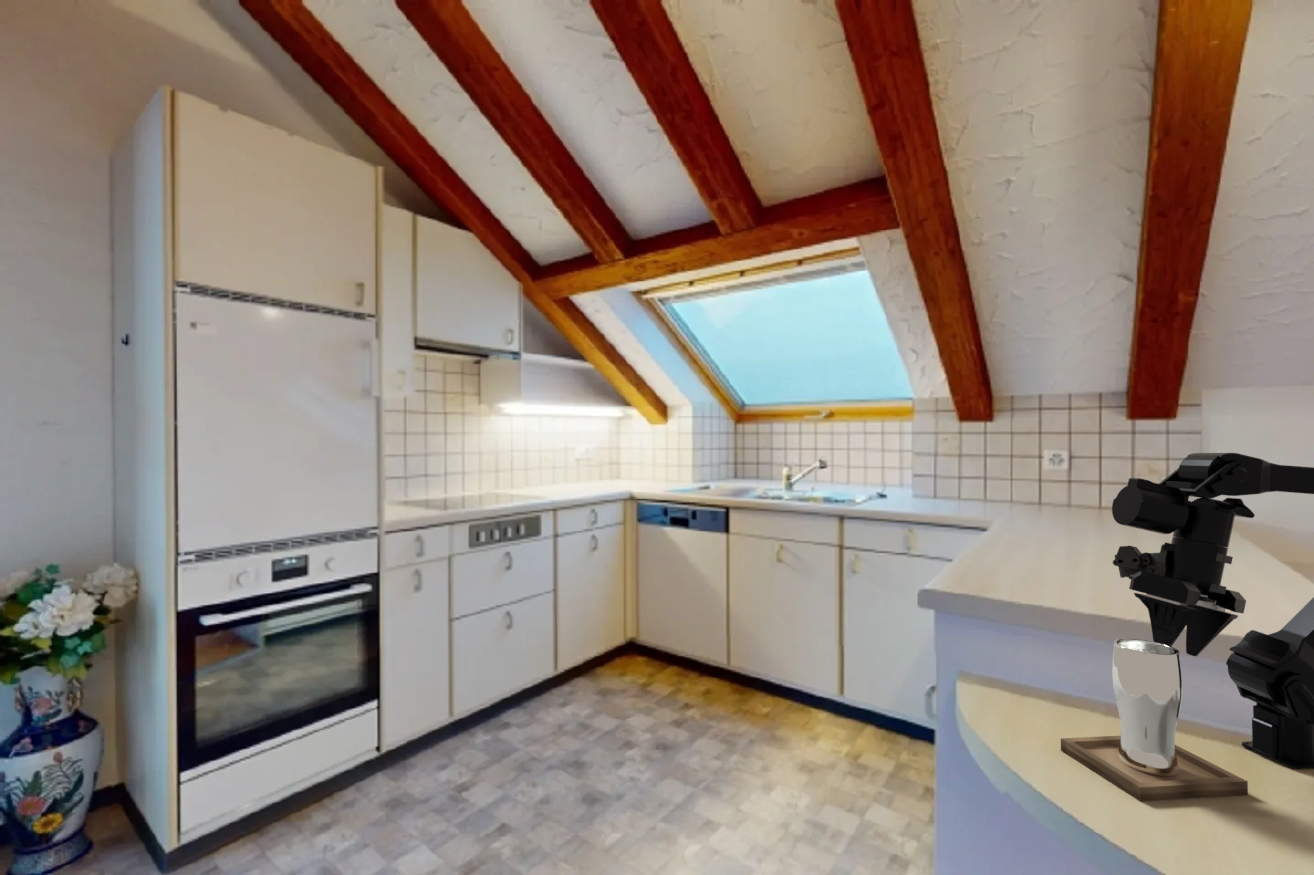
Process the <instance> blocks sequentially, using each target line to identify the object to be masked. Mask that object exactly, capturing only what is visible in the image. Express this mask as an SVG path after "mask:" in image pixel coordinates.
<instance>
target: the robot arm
mask: <svg viewBox="0 0 1314 875" xmlns="http://www.w3.org/2000/svg"><path fill="white" fill-rule="evenodd" d="M1272 492H1273V493H1274V492H1281V493H1282V492H1283V493H1293V494H1294V493H1295V494H1307V495H1314V466H1313V467H1312V466H1310V467H1309V466H1298V465H1296V466H1295V465H1287V464H1286V465H1285V464H1277V463H1273V462H1269V461H1267V460H1264V459H1262V458H1260V457H1259V458H1258V457H1254V456H1252V455H1251V456H1250V455H1246V454H1241V453H1237V452H1195V453H1190V454H1187V455H1186V457H1184V458H1183V459H1182V460H1181V462H1180V463H1179V467H1178V468H1177V469H1175V470H1174V471H1173V472H1171V474H1169V475H1168V476H1167V477H1165V478H1164V479H1163V480H1161V482H1159V483H1156V482H1153V481H1152V480H1149V479H1145V478H1139V477H1136V478H1135V477H1130V478H1129V479H1128V482H1127V485H1126V486H1125V487H1123V488H1122V489H1121V490H1120V491H1119V492H1118V493H1117V495H1116V497H1115V498H1113V501H1112V506H1111V513H1112V517H1113V519H1114V521H1115V522H1116V523H1117V524H1119V525H1121V526H1126V527H1130V528H1135V529H1138V530H1144V531H1148V532H1152V533H1157V534H1161V535H1170V534H1171V533H1173V534H1172V537H1171V542H1170V543H1169V542H1166V541H1165V542H1164V544H1161V545H1160V546H1161V547H1160V551H1159V552H1147V551H1146V552H1143V553H1142V551H1140V549H1138V547H1137V546H1134V545H1123V546H1122V545H1121V546H1119V547H1118V550H1117V553H1116V554H1114V560H1112V564H1113V566H1114V567H1115V566H1116V567H1118V572H1119V576H1120V578H1122V579H1124V578H1128V580H1130V584H1129V588H1128V589H1129V590H1132V591H1136V592H1133V594H1134V596H1135V597H1136V598H1138V600H1140V602H1141V603H1142V604H1143V605H1144V606H1145V608H1147V611H1148V617H1149V619H1150V620H1149V621H1150V625H1151V627H1150V628H1151V635H1152V641H1153V642H1158V643H1162V644H1165V645H1168V646H1171V647H1173V645H1174V643H1175V642H1176V641H1177V639H1178V638H1179V637H1180V635H1181V633H1183V631H1184V629H1185V628H1186V632H1185V633H1186V634H1185V653H1186V654H1187V655H1189V656H1192V657H1198V656H1199V655H1200V654H1201V653H1202V652H1203V651H1204V649H1206V648H1207V646H1208V645H1209V644H1210V643H1211V642H1213V640H1215V638H1216V637H1218V635H1219V634H1220V633H1221V632H1222V631H1223V630H1225V629H1226V627H1228V626H1229V625H1230V624H1231V623H1232V622H1233V621H1234V620H1236V619H1238V617H1239V615H1238V613H1239V614H1244V613H1245V609H1246V605H1247V604H1246V603H1247V600H1246V599H1245V598H1244V597H1243V595H1242V594H1241V593H1240V592H1239V591H1235V590H1231V589H1227V586H1224V585H1222V584H1221V583H1222V579H1223V575H1224V570H1225V565H1226V564H1228V565H1232V562H1233V558H1234V557H1233V556H1232V555H1231V556H1230V555H1228V550H1229V545H1230V542H1231V536H1232V531H1233V528H1234V522H1235V518H1237V517H1239V518H1247V519H1253V518H1254V517H1255V515H1256V514H1255V513H1254V512H1253V511H1252V509H1250V508H1249V507H1247V505H1246V504H1245V502H1244V501H1243V500H1242V498H1237V496H1238V497H1239V496H1249V495H1250V496H1251V495H1261V494H1264V493H1272ZM1220 496H1228V497H1226V498H1224V499H1223V500H1219V499H1215V498H1218V497H1220ZM1190 497H1192V498H1195V499H1193V500H1189V499H1190ZM1235 497H1236V498H1235ZM1138 592H1140V593H1138ZM1143 593H1144V594H1143ZM1226 610H1228V611H1230V612H1226ZM1231 612H1232V613H1231ZM1233 612H1234V613H1237V614H1234V613H1233ZM1229 651H1231V652H1232V653H1231V654H1230V655H1229V656H1228V658H1227V659H1226V663H1225V664H1226V666H1227V673H1228V675H1229V678H1230V679H1231V680H1232V682H1233V683H1234V684H1235V686H1236V688H1237V690H1238V692H1239V696H1240V697H1241V698H1243V699H1246V700H1247V699H1248V700H1250V701H1252V702H1254V703H1256V705H1252V716H1253V717H1252V718H1251V741H1250V740H1249V741H1247V740H1246V741H1241V746H1242V747H1245V748H1246V749H1248V750H1250V751H1253V752H1255V753H1257V754H1260V755H1262V756H1264V757H1266V758H1268V759H1270V760H1273V761H1275V762H1277V763H1279V764H1281V765H1284V766H1285V767H1287V768H1290V769H1294V770H1305V769H1309V770H1310V769H1314V596H1313V597H1312V598H1311V599H1310V600H1309V601H1308V602H1307V603H1306V604H1305V605H1304V606H1303V607H1302V608H1301V609H1300V610H1299V611H1298V612H1297V613H1296V614H1295V615H1294V616H1292V618H1291V619H1290V620H1289V621H1288V622H1287V623H1286V624H1285V625H1284V626H1283V627H1282V628H1281V629H1280V630H1278V631H1275V632H1273V633H1269V634H1266V633H1263V632H1260V631H1257V630H1255V629H1252V630H1249V631H1248V632H1246V633H1245V635H1244V637H1242V639H1241V641H1239V642H1238V643H1237V644H1236V645H1234V646H1231V647H1230V648H1229Z"/></svg>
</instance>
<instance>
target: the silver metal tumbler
mask: <svg viewBox="0 0 1314 875" xmlns="http://www.w3.org/2000/svg"><path fill="white" fill-rule="evenodd" d="M1111 670H1112V671H1111V675H1112V685H1113V686H1112V687H1113V693H1114V697H1115V701H1116V706H1117V711H1118V715H1119V721H1120V729H1121V730H1120V731H1121V732H1120V736H1121V741H1120V745H1119V750H1118V758H1119V759H1120V760H1121V761H1122V762H1123V763H1124V764H1126V765H1127V766H1129V767H1131V768H1133V769H1136V770H1138V771H1141V772H1144V773H1148V774H1152V775H1157V776H1175V775H1177V774H1178V773H1179V765H1178V761H1177V757H1176V753H1175V745H1176V744H1175V739H1176V730H1177V726H1178V725H1177V724H1178V722H1179V717H1180V712H1181V705H1182V701H1183V700H1182V699H1183V676H1182V666H1181V659H1180V650H1178V649H1177V648H1175V647H1173V646H1168V645H1165V644H1162V643H1158V642H1153V640H1148V639H1147V640H1145V639H1139V638H1128V637H1127V638H1124V637H1123V638H1118V639H1114V640H1113V652H1112V668H1111Z"/></svg>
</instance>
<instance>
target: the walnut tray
mask: <svg viewBox="0 0 1314 875" xmlns="http://www.w3.org/2000/svg"><path fill="white" fill-rule="evenodd" d="M1120 741H1121V735H1108V736H1106V735H1104V736H1089V737H1088V736H1086V737H1085V736H1084V737H1083V736H1082V737H1067V738H1066V737H1064V738H1060V751H1061V752H1063V753H1064V754H1066V755H1068V756H1069V757H1071V758H1072V759H1074V760H1075V761H1077V762H1078V763H1079V764H1081V765H1082V766H1084V767H1086V768H1088V769H1090V771H1092V772H1094V773H1096V774H1097V775H1098V776H1100V777H1101V778H1103V779H1105V780H1107V781H1108V782H1110V784H1111V783H1112V785H1114V786H1115V787H1117V788H1118V789H1120V790H1122V791H1123V792H1125V793H1126V794H1128V795H1129V796H1131V797H1133V798H1134V799H1136V800H1138V801H1139V802H1151V801H1152V802H1153V801H1166V800H1167V801H1170V800H1171V801H1173V800H1183V799H1184V800H1186V799H1200V798H1203V799H1204V798H1219V797H1233V796H1234V797H1235V796H1248V795H1249V791H1248V783H1249V782H1248V780H1245V779H1244V778H1242V777H1240V776H1238V775H1236V774H1234V773H1233V772H1230V771H1228V770H1227V769H1225V768H1222V767H1220V766H1218V765H1216V764H1215V763H1212V762H1210V761H1209V760H1206V759H1204V757H1203V758H1202V757H1200V756H1198V755H1196V754H1194V753H1192V752H1190V751H1189V750H1187V749H1185V748H1183V747H1181V746H1178V745H1177V744H1175V753H1176V757H1177V761H1178V765H1179V773H1178V774H1177V775H1175V776H1157V775H1152V774H1148V773H1144V772H1141V771H1138V770H1136V769H1133V768H1131V767H1129V766H1127V765H1126V764H1124V763H1123V762H1122V761H1121V760H1120V759H1119V758H1118V750H1119V745H1120Z"/></svg>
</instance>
